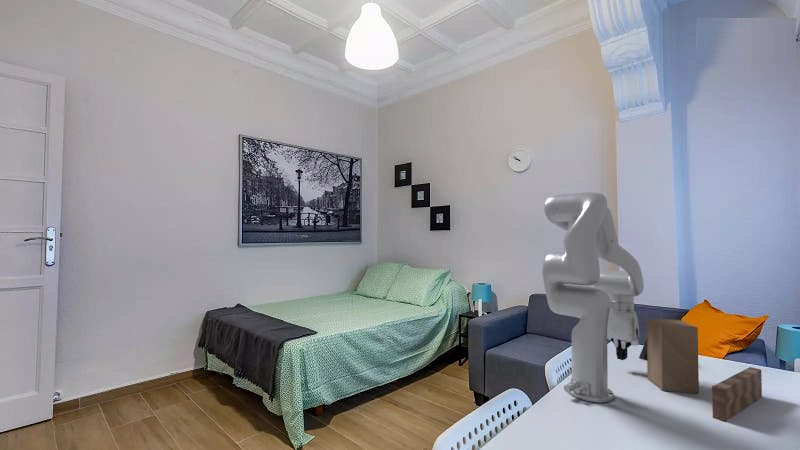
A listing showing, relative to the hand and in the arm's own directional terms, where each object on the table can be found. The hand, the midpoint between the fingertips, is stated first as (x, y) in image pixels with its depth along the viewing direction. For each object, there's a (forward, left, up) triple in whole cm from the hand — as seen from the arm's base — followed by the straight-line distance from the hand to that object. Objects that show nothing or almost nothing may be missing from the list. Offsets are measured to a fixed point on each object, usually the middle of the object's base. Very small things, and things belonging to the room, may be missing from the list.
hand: (621, 358), depth 127 cm
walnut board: (0, -31, -4) cm, 31 cm away
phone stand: (+22, -1, -4) cm, 22 cm away
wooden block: (0, -15, -4) cm, 16 cm away
